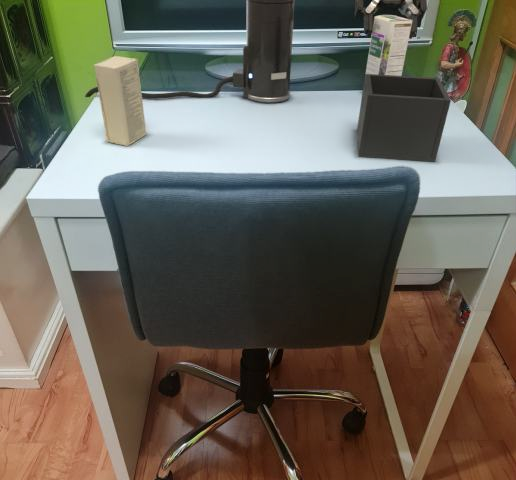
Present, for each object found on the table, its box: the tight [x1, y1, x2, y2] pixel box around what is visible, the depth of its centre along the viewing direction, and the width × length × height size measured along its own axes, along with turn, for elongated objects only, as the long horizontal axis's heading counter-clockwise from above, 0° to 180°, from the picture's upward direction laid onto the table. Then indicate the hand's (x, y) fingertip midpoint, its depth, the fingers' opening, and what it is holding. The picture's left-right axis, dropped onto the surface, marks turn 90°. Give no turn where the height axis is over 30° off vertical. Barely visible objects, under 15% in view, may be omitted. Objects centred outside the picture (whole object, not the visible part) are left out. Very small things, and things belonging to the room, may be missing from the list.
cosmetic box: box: [93, 55, 147, 147], centre depth 84 cm, size 6×4×12 cm
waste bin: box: [356, 73, 452, 163], centre depth 86 cm, size 13×13×10 cm
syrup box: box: [365, 14, 412, 76], centre depth 107 cm, size 6×6×14 cm
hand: (390, 35), depth 104 cm, fingers open, 8 cm apart
